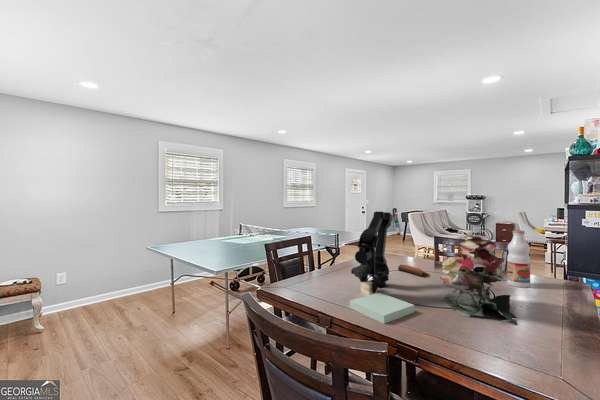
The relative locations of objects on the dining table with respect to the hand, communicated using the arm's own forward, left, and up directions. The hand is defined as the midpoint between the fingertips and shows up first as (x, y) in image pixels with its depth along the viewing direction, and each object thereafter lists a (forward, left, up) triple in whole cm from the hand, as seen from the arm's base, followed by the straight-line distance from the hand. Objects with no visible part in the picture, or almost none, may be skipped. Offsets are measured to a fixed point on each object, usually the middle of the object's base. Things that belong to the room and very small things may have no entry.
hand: (369, 291), depth 136 cm
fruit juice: (-73, +34, -1) cm, 81 cm away
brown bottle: (-50, -11, -2) cm, 51 cm away
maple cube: (0, 0, -1) cm, 1 cm away
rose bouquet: (-24, +36, -1) cm, 43 cm away
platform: (+10, +16, -1) cm, 19 cm away
